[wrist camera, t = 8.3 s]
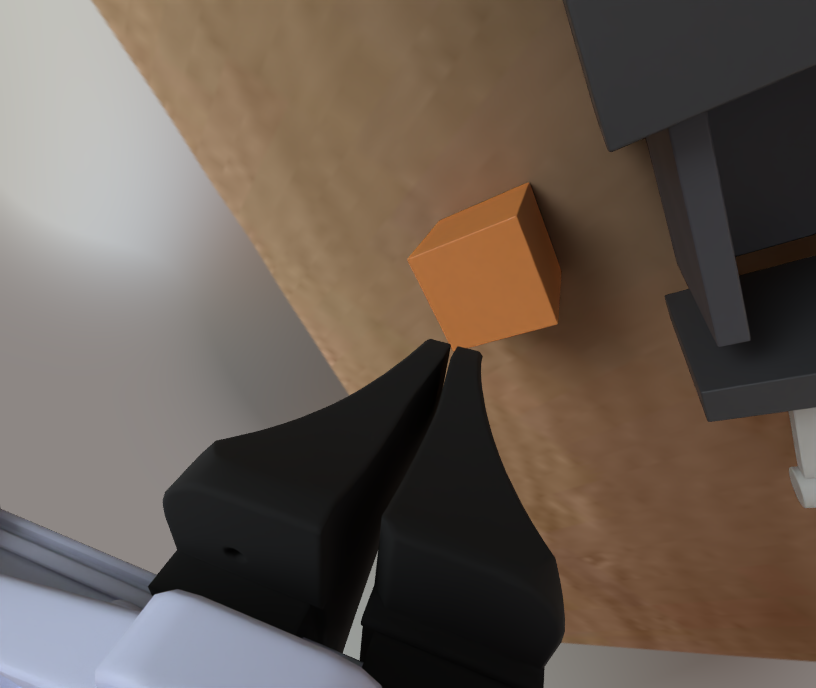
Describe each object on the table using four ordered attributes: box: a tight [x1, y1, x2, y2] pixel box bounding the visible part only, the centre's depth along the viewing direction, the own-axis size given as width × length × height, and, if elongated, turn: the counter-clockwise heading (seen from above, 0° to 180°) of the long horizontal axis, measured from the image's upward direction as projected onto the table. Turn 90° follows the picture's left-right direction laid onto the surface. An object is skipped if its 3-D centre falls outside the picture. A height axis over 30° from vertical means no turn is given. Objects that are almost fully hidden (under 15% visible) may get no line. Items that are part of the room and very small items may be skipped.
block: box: [407, 182, 562, 352], centre depth 19 cm, size 4×4×5 cm
